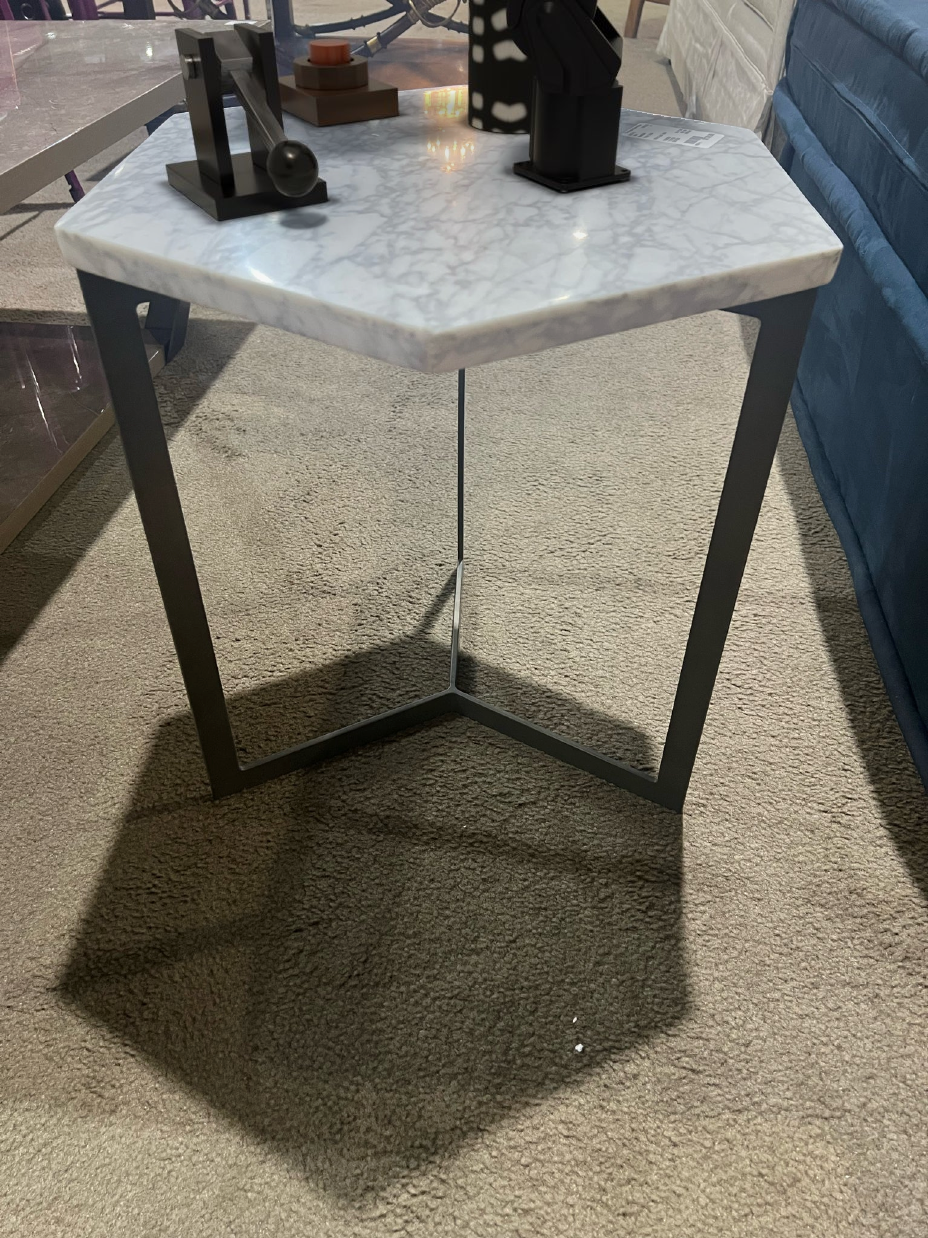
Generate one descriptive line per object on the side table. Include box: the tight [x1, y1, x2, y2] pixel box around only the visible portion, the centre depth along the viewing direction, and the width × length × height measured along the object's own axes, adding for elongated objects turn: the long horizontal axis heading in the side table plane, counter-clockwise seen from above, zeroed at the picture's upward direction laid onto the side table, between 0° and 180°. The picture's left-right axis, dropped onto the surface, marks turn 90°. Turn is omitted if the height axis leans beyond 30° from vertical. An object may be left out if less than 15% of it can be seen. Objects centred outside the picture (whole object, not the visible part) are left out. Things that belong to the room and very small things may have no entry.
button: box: [308, 38, 351, 64], centre depth 82 cm, size 4×4×2 cm
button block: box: [278, 53, 400, 127], centre depth 84 cm, size 10×8×4 cm
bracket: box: [165, 22, 329, 222], centre depth 62 cm, size 10×8×10 cm
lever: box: [203, 29, 320, 197], centre depth 59 cm, size 13×3×3 cm, turn 32°
